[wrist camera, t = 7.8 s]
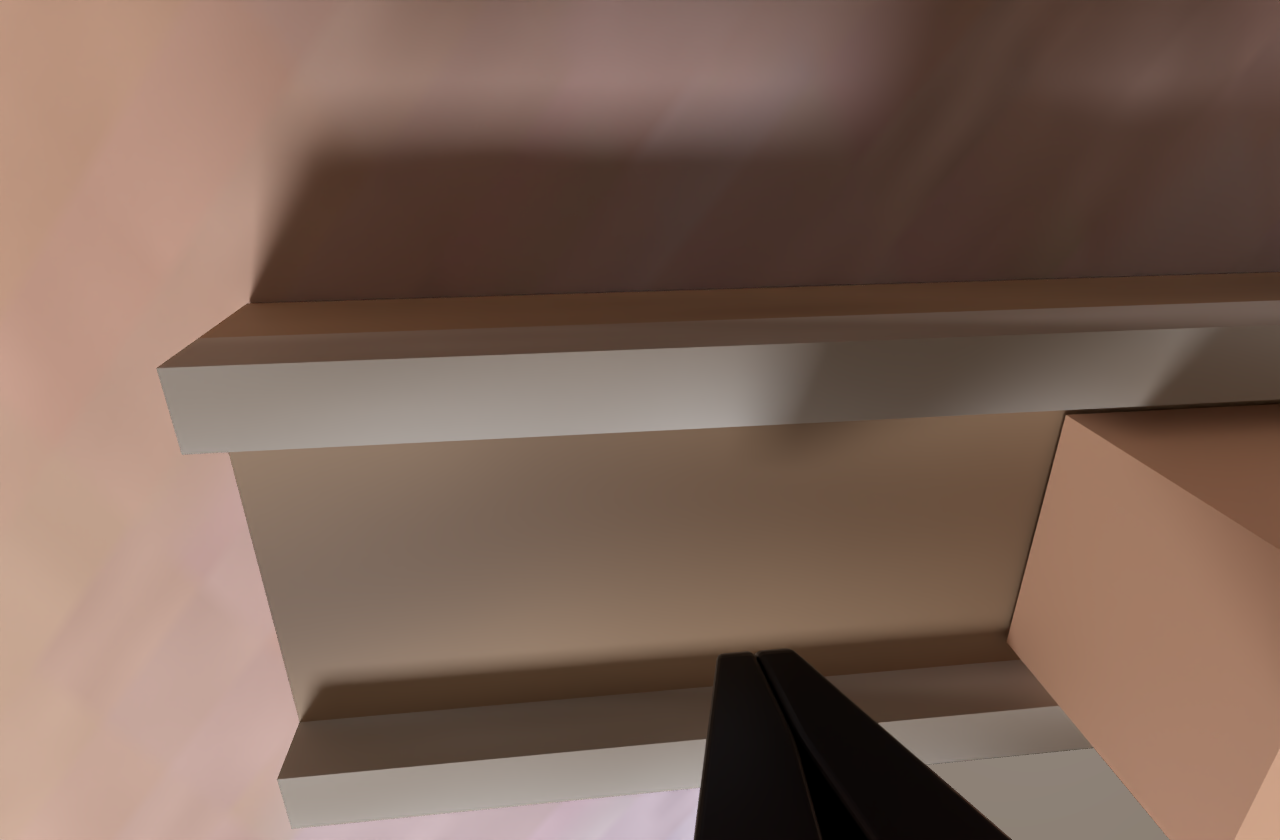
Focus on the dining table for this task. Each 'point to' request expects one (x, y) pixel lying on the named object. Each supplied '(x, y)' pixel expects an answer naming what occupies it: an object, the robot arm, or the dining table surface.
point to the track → (668, 511)
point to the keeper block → (1166, 609)
